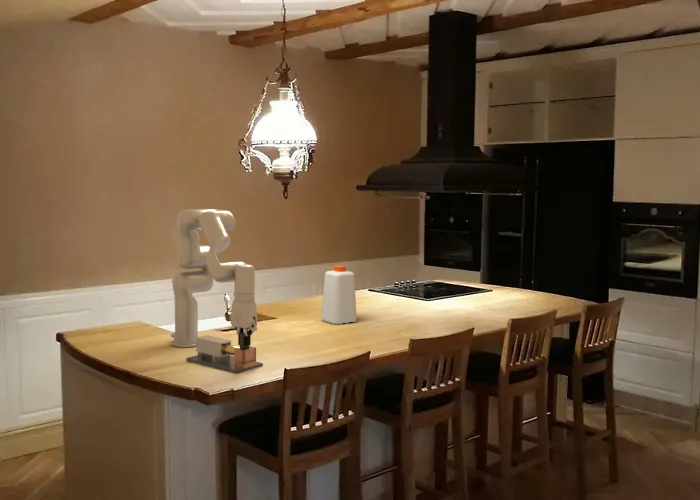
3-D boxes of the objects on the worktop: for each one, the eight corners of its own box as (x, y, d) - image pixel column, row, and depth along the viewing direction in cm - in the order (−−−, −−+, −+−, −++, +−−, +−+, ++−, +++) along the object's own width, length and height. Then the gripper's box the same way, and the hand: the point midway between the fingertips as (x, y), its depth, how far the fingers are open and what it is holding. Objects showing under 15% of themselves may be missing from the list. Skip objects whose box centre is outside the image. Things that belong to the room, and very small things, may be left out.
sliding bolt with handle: (212, 351, 286) (212, 327, 285) (219, 350, 289) (219, 326, 288) (243, 359, 276) (243, 334, 275) (250, 357, 279) (250, 332, 278)
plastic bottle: (359, 322, 367) (360, 266, 364) (334, 325, 359) (335, 268, 356) (343, 317, 379) (343, 263, 376) (318, 320, 371) (318, 265, 368)
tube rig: (186, 360, 288) (186, 338, 287) (213, 354, 300) (213, 333, 299) (236, 373, 272) (236, 350, 271) (262, 366, 283) (263, 343, 282)
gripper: (222, 296, 278) (222, 343, 280) (252, 301, 268) (252, 350, 270) (236, 293, 284) (236, 340, 286) (266, 298, 274) (266, 346, 276)
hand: (244, 344), depth 278 cm, fingers closed on sliding bolt with handle, 2 cm apart
